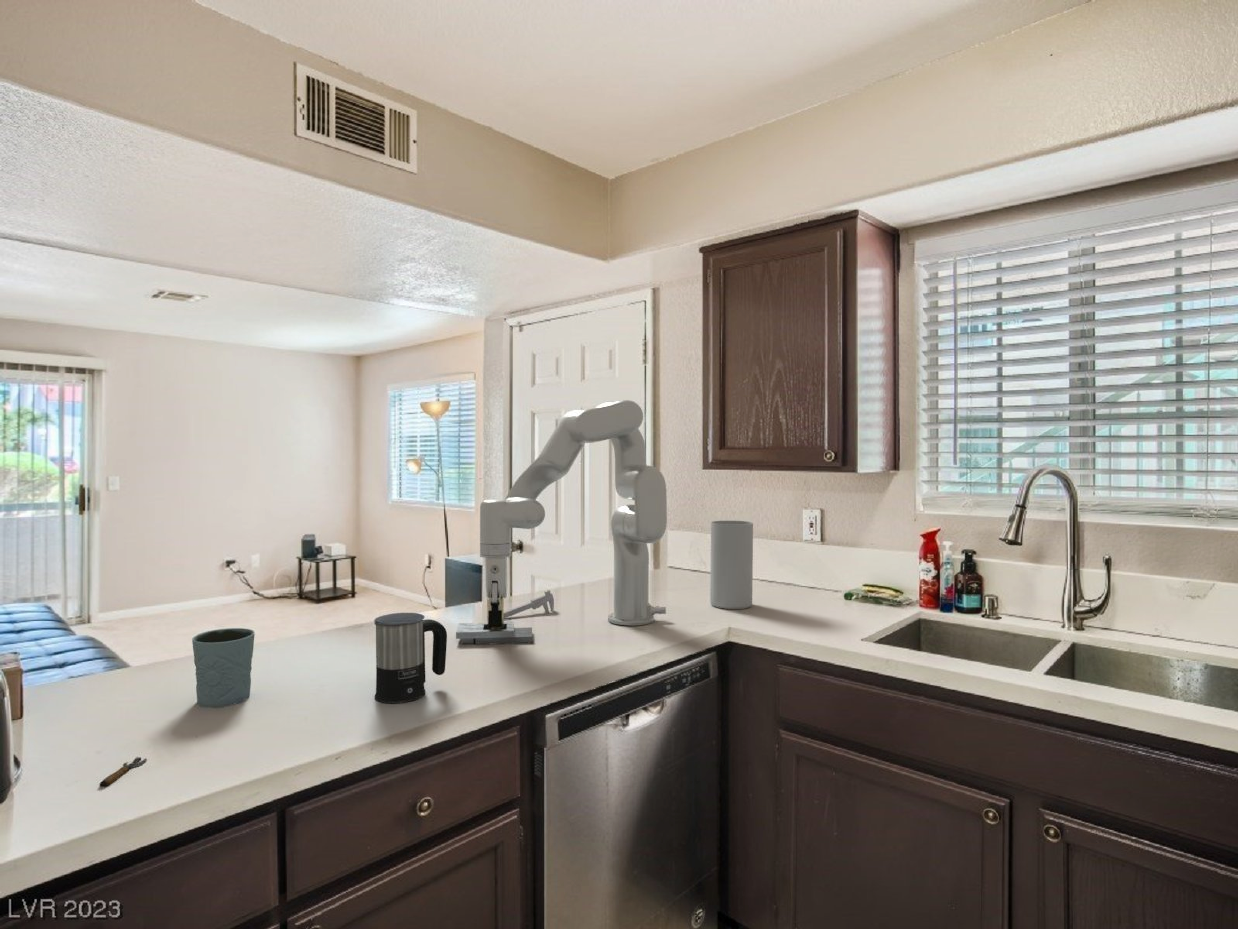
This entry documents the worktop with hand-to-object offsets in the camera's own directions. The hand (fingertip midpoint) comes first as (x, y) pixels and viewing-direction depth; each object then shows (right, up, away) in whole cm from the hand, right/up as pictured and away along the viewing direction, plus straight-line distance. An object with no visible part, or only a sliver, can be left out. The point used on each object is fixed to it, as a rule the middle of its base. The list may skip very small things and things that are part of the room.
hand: (495, 623), depth 175 cm
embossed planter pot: (-43, -4, -43) cm, 61 cm away
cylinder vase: (+64, -4, +40) cm, 76 cm away
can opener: (-40, -5, -73) cm, 84 cm away
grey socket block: (0, -4, 0) cm, 4 cm away
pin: (0, -2, 0) cm, 2 cm away
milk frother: (-12, -5, -37) cm, 39 cm away
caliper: (+3, -4, +26) cm, 26 cm away
